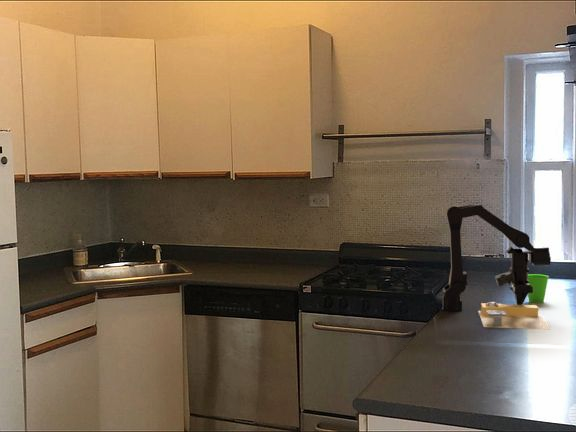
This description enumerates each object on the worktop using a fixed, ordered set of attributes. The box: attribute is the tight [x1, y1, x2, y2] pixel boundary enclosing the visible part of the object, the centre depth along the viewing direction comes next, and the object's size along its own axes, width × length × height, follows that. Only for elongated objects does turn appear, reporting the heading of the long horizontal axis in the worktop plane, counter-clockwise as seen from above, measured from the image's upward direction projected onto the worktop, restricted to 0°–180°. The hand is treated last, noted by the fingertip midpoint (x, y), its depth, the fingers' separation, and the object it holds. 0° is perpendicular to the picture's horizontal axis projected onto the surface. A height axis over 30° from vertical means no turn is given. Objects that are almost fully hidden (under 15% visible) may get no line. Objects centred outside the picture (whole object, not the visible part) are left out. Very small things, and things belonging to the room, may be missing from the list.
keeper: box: [486, 310, 507, 327], centre depth 234 cm, size 7×6×4 cm
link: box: [480, 302, 539, 316], centre depth 249 cm, size 19×7×3 cm, turn 79°
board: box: [477, 310, 551, 330], centre depth 241 cm, size 21×25×1 cm
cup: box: [527, 273, 550, 304], centre depth 270 cm, size 9×9×11 cm
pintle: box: [487, 301, 497, 307], centre depth 250 cm, size 3×3×4 cm
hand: (519, 307), depth 254 cm, fingers closed
